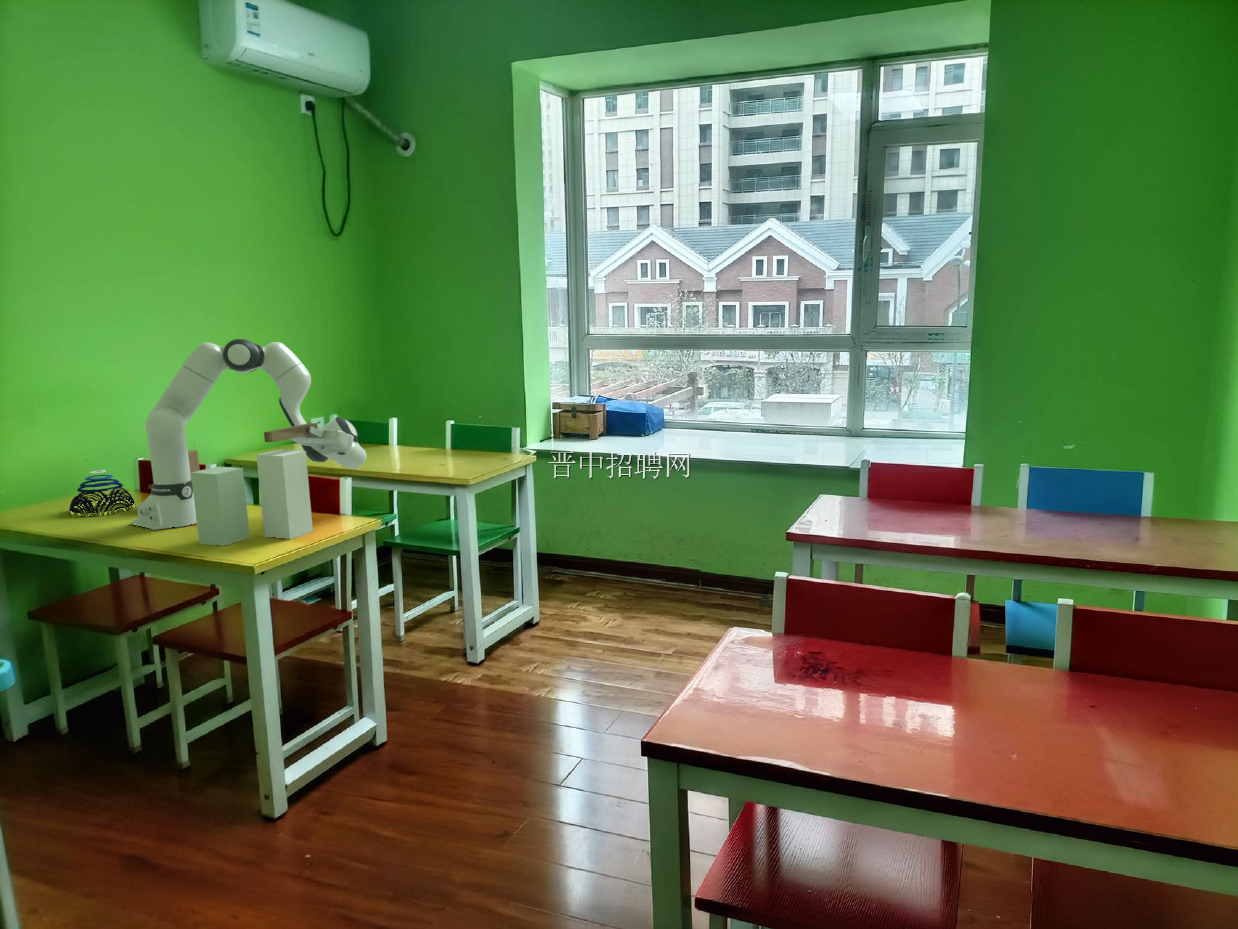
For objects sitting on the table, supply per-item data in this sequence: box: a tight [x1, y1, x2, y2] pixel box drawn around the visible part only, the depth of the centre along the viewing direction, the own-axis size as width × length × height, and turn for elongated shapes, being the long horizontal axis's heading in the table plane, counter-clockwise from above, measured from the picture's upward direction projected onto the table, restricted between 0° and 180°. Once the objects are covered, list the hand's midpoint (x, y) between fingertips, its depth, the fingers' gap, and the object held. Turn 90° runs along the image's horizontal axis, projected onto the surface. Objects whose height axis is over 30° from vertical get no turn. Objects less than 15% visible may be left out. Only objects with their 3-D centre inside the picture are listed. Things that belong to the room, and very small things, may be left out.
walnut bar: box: [263, 422, 319, 443], centre depth 263 cm, size 3×20×3 cm, turn 159°
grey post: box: [256, 449, 314, 540], centre depth 262 cm, size 10×10×26 cm
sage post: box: [191, 466, 251, 547], centre depth 257 cm, size 10×10×22 cm
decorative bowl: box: [69, 469, 136, 515], centre depth 301 cm, size 20×20×14 cm
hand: (303, 428), depth 268 cm, fingers closed on walnut bar, 3 cm apart
